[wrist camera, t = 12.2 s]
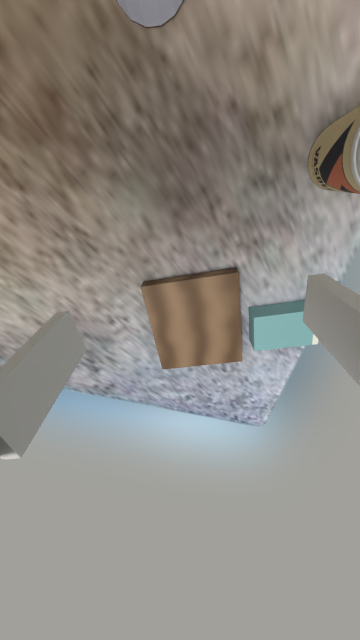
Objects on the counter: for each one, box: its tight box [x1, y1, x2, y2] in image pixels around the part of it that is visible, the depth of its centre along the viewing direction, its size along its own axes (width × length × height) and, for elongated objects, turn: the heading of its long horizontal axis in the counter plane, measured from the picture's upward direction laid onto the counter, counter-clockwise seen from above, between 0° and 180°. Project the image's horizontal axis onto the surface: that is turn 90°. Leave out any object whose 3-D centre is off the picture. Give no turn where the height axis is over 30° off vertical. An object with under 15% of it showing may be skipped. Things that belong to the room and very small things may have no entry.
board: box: [141, 268, 242, 369], centre depth 42 cm, size 16×18×2 cm
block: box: [249, 300, 319, 351], centre depth 40 cm, size 4×7×11 cm
